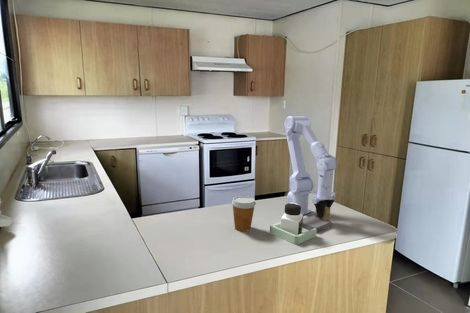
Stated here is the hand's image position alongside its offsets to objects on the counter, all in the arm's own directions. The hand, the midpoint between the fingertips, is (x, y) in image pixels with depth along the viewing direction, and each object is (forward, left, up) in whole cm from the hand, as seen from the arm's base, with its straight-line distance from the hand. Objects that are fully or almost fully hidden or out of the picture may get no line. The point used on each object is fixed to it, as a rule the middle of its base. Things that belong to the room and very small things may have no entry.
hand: (322, 216), depth 137 cm
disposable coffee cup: (-16, -31, -3) cm, 35 cm away
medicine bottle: (-1, -20, -3) cm, 20 cm away
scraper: (0, -5, -3) cm, 6 cm away
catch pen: (0, -19, -3) cm, 19 cm away
